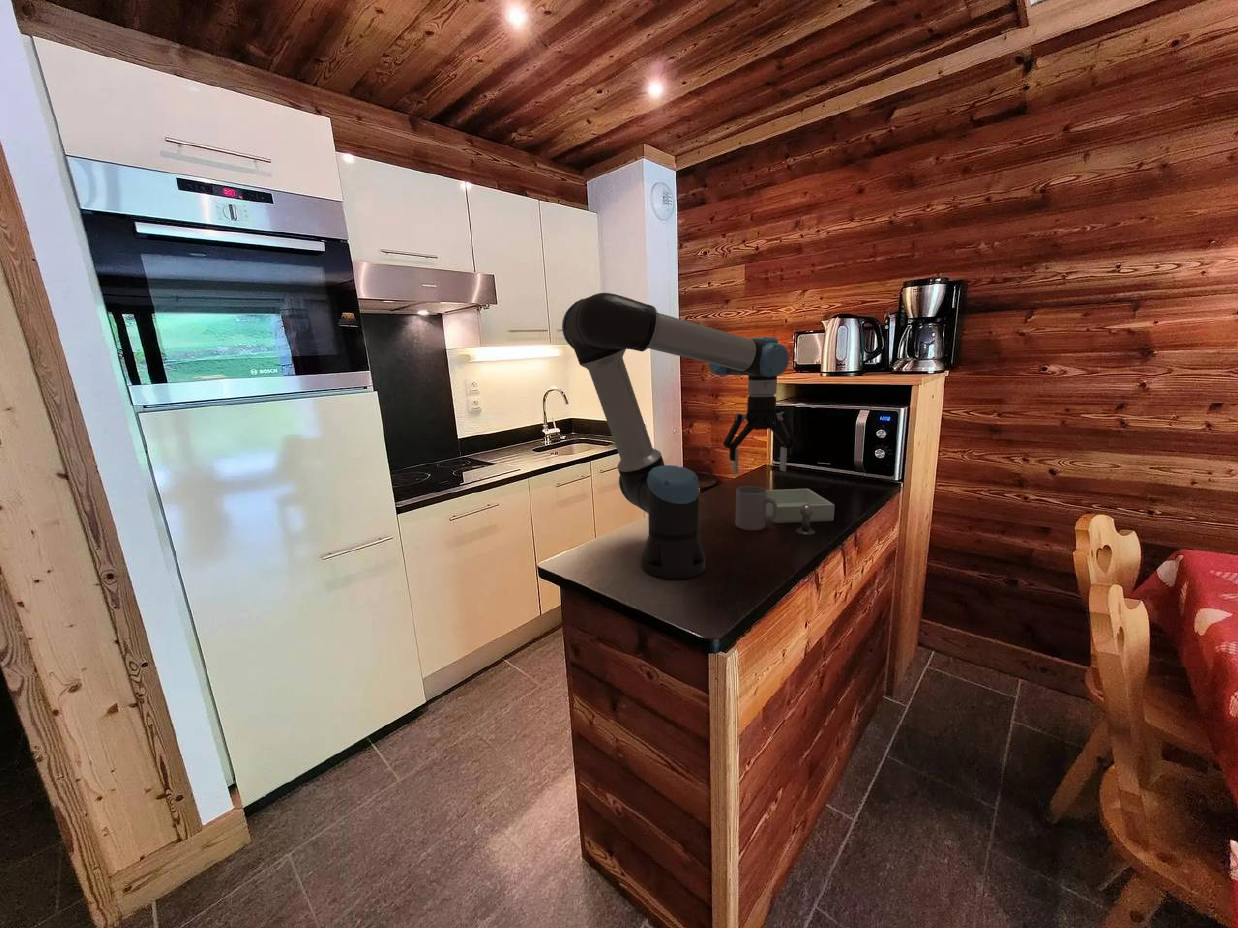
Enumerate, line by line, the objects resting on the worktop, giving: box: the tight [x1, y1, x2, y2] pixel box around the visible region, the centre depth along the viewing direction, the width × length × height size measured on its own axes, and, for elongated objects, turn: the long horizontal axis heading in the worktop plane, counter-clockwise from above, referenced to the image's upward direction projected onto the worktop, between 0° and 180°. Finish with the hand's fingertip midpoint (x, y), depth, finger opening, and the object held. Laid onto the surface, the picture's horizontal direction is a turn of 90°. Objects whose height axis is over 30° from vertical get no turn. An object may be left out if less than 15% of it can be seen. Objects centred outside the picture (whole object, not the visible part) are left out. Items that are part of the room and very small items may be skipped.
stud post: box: [795, 504, 816, 536], centre depth 133 cm, size 5×5×8 cm
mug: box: [734, 485, 777, 531], centre depth 138 cm, size 12×8×11 cm
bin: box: [766, 488, 836, 524], centre depth 150 cm, size 18×18×5 cm
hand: (758, 471), depth 135 cm, fingers open, 13 cm apart
